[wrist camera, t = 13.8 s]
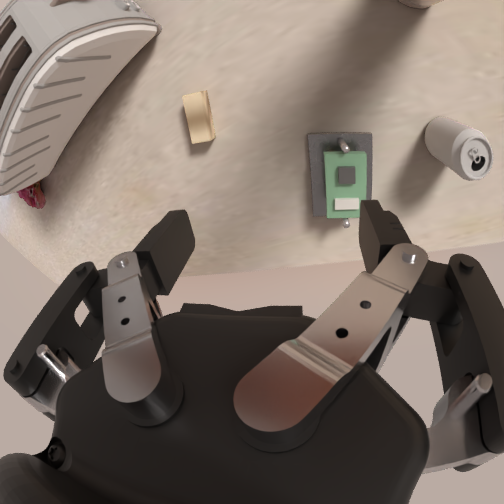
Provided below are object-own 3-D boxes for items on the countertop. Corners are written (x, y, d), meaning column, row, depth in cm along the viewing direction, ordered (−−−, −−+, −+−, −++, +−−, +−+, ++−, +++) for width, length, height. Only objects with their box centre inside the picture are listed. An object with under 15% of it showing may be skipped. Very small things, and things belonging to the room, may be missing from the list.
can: (434, 166, 37) (468, 195, 27) (414, 129, 34) (448, 148, 25) (464, 145, 33) (503, 169, 23) (445, 108, 31) (486, 121, 21)
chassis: (307, 133, 39) (308, 142, 34) (370, 132, 37) (381, 141, 31) (313, 213, 46) (314, 233, 41) (369, 212, 44) (377, 231, 39)
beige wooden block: (189, 94, 38) (182, 95, 35) (206, 90, 37) (200, 91, 35) (198, 139, 42) (192, 143, 40) (215, 136, 41) (210, 140, 39)
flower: (49, 195, 58) (18, 205, 51) (46, 161, 53) (13, 169, 46) (54, 210, 52) (18, 221, 45) (50, 170, 47) (12, 181, 40)
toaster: (186, 20, 30) (96, -9, 12) (56, 174, 50) (-12, 223, 32) (125, -36, 22) (40, -60, 4) (18, 117, 42) (-50, 151, 24)
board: (323, 151, 36) (324, 155, 34) (364, 151, 35) (367, 155, 33) (326, 213, 42) (327, 220, 40) (363, 212, 40) (366, 219, 39)
